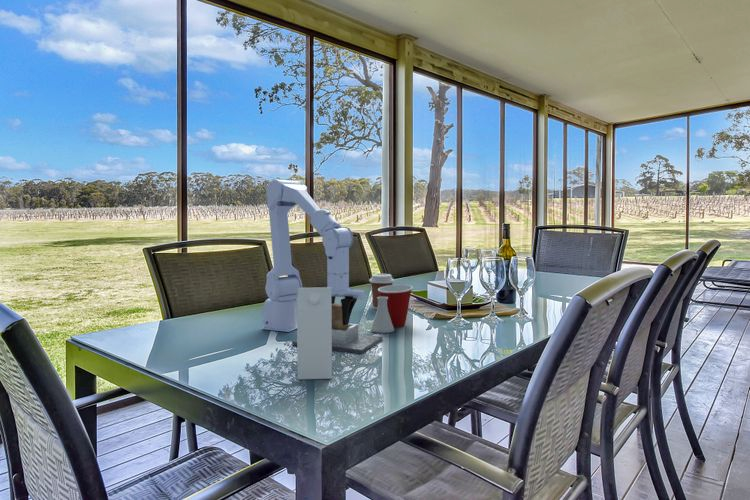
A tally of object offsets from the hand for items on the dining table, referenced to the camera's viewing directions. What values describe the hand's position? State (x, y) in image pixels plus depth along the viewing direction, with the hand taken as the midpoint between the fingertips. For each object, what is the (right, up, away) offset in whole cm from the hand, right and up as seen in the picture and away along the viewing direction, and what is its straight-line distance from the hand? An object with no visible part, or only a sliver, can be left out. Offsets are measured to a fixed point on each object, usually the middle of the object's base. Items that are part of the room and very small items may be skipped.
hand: (338, 323), depth 134 cm
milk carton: (-3, -8, -25) cm, 27 cm away
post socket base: (0, -5, 0) cm, 5 cm away
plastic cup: (+16, -4, +21) cm, 27 cm away
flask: (+12, -4, +14) cm, 19 cm away
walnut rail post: (0, -3, 0) cm, 3 cm away
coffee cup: (+12, -2, +48) cm, 50 cm away
